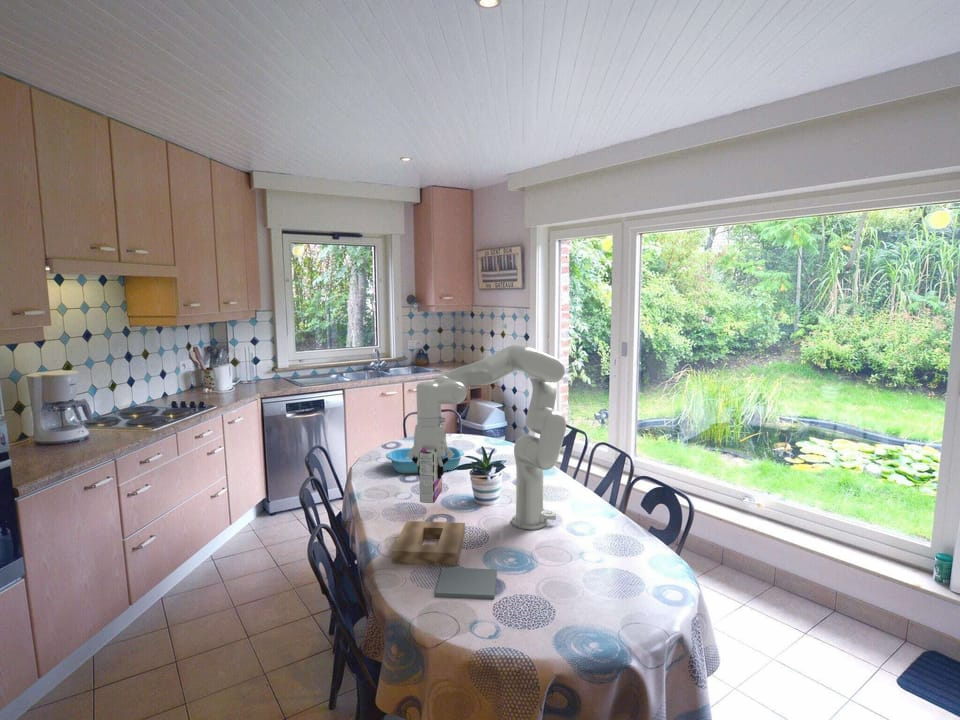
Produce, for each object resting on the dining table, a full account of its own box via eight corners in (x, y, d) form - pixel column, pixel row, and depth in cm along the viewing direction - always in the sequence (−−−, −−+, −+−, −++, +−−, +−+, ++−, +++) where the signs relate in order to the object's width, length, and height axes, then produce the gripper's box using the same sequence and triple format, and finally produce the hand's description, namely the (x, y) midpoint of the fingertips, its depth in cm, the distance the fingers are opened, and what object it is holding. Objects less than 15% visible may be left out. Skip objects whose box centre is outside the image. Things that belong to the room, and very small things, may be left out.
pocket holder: (464, 534, 186) (464, 522, 185) (457, 565, 164) (457, 553, 163) (406, 532, 187) (406, 520, 187) (391, 563, 165) (391, 550, 165)
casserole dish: (459, 458, 273) (459, 444, 272) (468, 472, 251) (468, 457, 250) (384, 463, 265) (384, 448, 264) (387, 478, 243) (387, 462, 242)
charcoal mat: (496, 572, 160) (496, 569, 160) (494, 598, 146) (494, 595, 146) (442, 570, 161) (442, 567, 161) (435, 596, 147) (435, 592, 147)
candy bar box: (427, 489, 180) (427, 441, 178) (442, 490, 179) (442, 442, 177) (418, 502, 169) (418, 451, 167) (434, 503, 168) (434, 452, 166)
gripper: (457, 418, 174) (459, 473, 176) (404, 418, 175) (406, 473, 177) (455, 424, 166) (456, 481, 169) (399, 424, 168) (401, 481, 170)
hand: (430, 476), depth 173 cm, fingers closed on candy bar box, 5 cm apart
